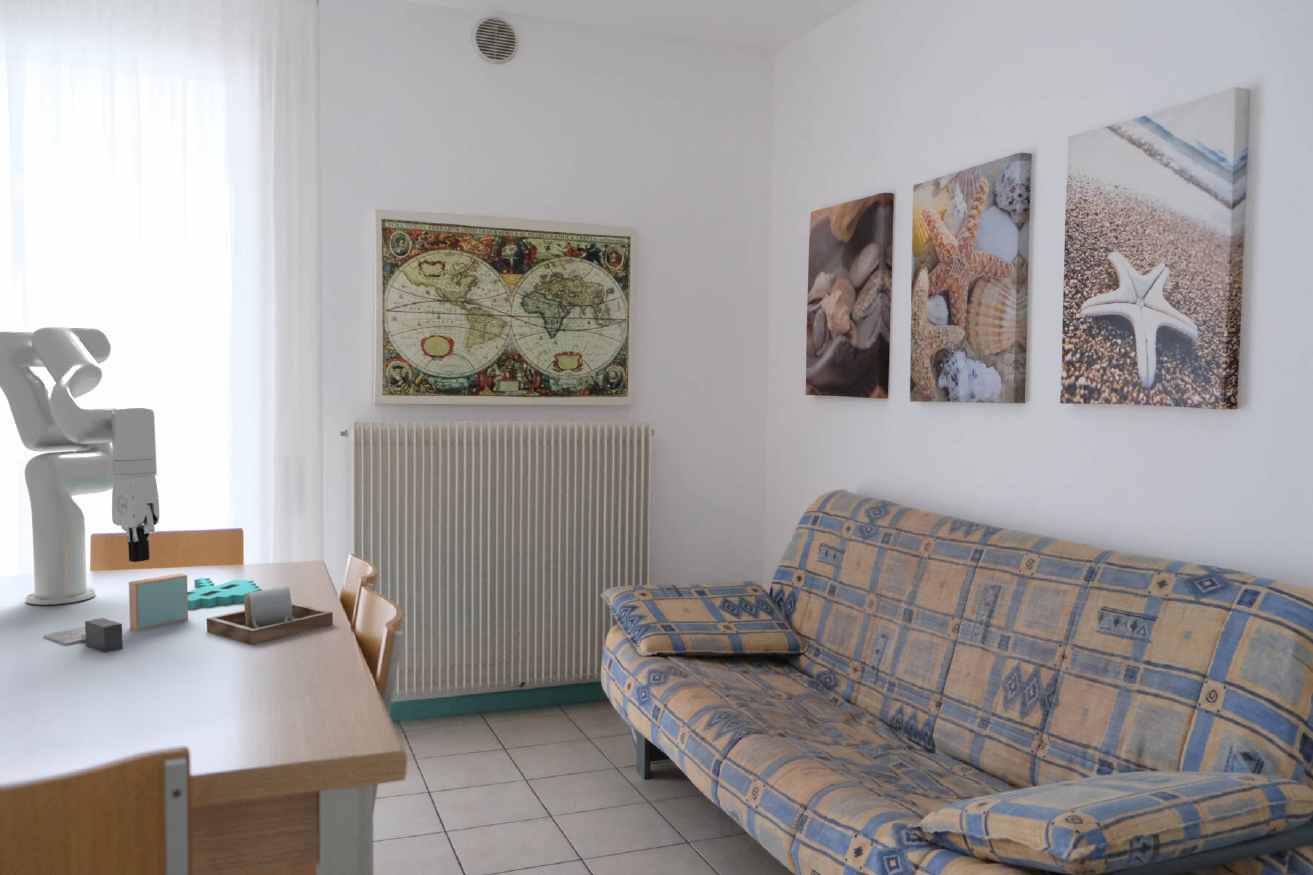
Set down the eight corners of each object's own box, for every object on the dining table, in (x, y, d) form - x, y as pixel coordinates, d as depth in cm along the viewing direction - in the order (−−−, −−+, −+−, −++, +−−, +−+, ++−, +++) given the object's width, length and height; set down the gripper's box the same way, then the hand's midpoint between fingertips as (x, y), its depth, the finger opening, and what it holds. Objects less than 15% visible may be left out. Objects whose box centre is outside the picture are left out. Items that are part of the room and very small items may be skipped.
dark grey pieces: (134, 646, 171) (133, 621, 171) (92, 655, 165) (91, 629, 165) (84, 629, 182) (83, 605, 181) (43, 637, 176) (42, 613, 176)
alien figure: (137, 607, 200) (222, 613, 196) (137, 597, 200) (222, 602, 196) (201, 587, 220) (279, 591, 216) (201, 577, 220) (279, 582, 216)
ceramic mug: (243, 625, 185) (242, 586, 185) (288, 620, 189) (288, 582, 188) (249, 640, 176) (248, 599, 175) (296, 634, 180) (295, 594, 179)
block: (130, 628, 183) (128, 582, 182) (181, 617, 191) (180, 573, 190) (137, 630, 181) (135, 583, 181) (188, 619, 189) (187, 575, 189)
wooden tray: (206, 631, 181) (206, 618, 181) (287, 613, 195) (286, 601, 195) (252, 644, 172) (252, 630, 172) (332, 624, 186) (332, 612, 186)
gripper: (97, 468, 190) (101, 560, 191) (134, 471, 181) (139, 567, 182) (135, 465, 196) (139, 554, 197) (173, 468, 187) (177, 561, 188)
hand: (139, 560), depth 189 cm, fingers closed
